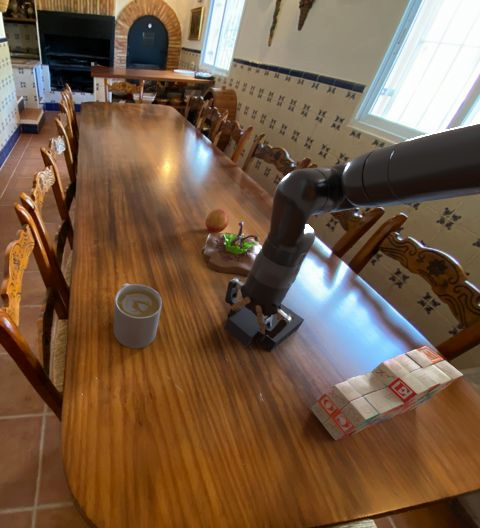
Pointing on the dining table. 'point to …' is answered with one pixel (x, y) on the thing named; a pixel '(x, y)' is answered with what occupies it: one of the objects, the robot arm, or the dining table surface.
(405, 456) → the dining table surface
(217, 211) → the fruit
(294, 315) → the notch pad
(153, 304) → the coffee mug
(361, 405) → the stack of blocks
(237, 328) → the pad
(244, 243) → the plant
